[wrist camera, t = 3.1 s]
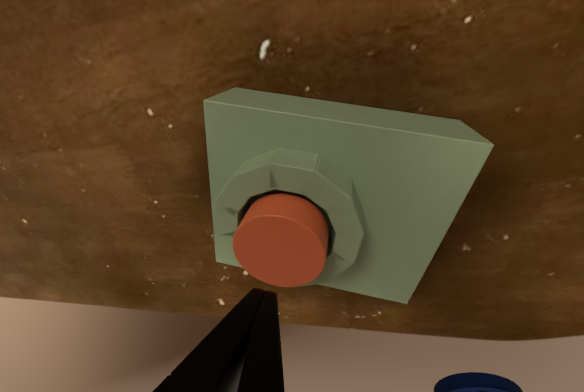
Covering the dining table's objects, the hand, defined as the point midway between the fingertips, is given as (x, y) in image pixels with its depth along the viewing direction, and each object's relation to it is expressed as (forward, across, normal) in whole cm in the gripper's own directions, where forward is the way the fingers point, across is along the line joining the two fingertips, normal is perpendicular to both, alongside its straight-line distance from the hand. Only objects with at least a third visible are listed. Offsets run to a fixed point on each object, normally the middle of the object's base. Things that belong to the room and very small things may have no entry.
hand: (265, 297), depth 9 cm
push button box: (+9, -1, 0) cm, 9 cm away
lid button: (+4, 0, 0) cm, 4 cm away
